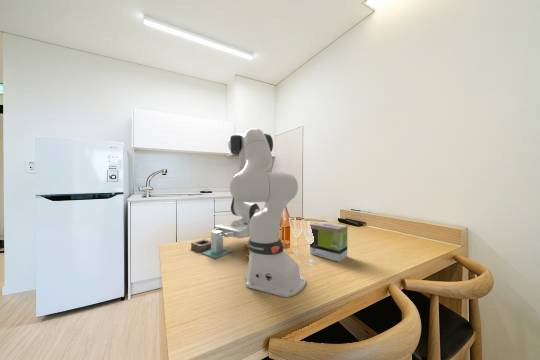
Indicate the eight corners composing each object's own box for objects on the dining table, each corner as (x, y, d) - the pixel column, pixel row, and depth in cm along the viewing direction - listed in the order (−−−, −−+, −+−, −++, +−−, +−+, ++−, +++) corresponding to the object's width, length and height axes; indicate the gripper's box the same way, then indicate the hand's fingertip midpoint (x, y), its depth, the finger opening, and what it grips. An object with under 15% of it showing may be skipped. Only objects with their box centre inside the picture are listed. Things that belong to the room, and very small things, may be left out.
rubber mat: (231, 252, 100) (231, 251, 100) (215, 258, 92) (215, 257, 92) (218, 247, 106) (218, 247, 106) (201, 253, 98) (201, 252, 98)
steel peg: (222, 251, 99) (222, 231, 99) (216, 254, 96) (216, 233, 96) (217, 249, 102) (217, 230, 102) (211, 252, 98) (211, 231, 98)
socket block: (214, 247, 106) (214, 242, 106) (200, 252, 100) (200, 246, 100) (204, 244, 111) (204, 239, 111) (191, 248, 104) (191, 243, 104)
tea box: (347, 256, 96) (348, 225, 96) (339, 263, 89) (339, 229, 88) (319, 248, 106) (319, 220, 106) (309, 254, 99) (309, 223, 98)
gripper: (225, 220, 117) (205, 224, 106) (252, 225, 105) (233, 230, 94) (225, 230, 117) (205, 236, 106) (252, 237, 105) (233, 244, 94)
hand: (218, 233), depth 100 cm, fingers open, 8 cm apart
